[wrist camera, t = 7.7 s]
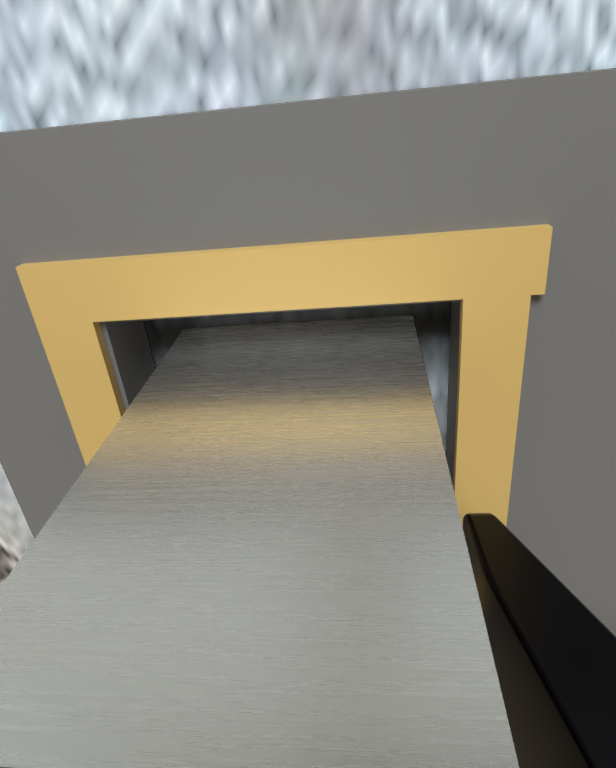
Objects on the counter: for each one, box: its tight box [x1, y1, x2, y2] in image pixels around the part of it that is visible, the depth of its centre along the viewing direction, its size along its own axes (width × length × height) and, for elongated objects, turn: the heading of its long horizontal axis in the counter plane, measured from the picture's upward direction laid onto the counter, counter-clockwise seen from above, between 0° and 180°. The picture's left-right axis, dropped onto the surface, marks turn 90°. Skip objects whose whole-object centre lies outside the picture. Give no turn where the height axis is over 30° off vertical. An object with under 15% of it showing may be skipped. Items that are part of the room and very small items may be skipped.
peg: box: [0, 316, 519, 768], centre depth 8 cm, size 4×4×8 cm
